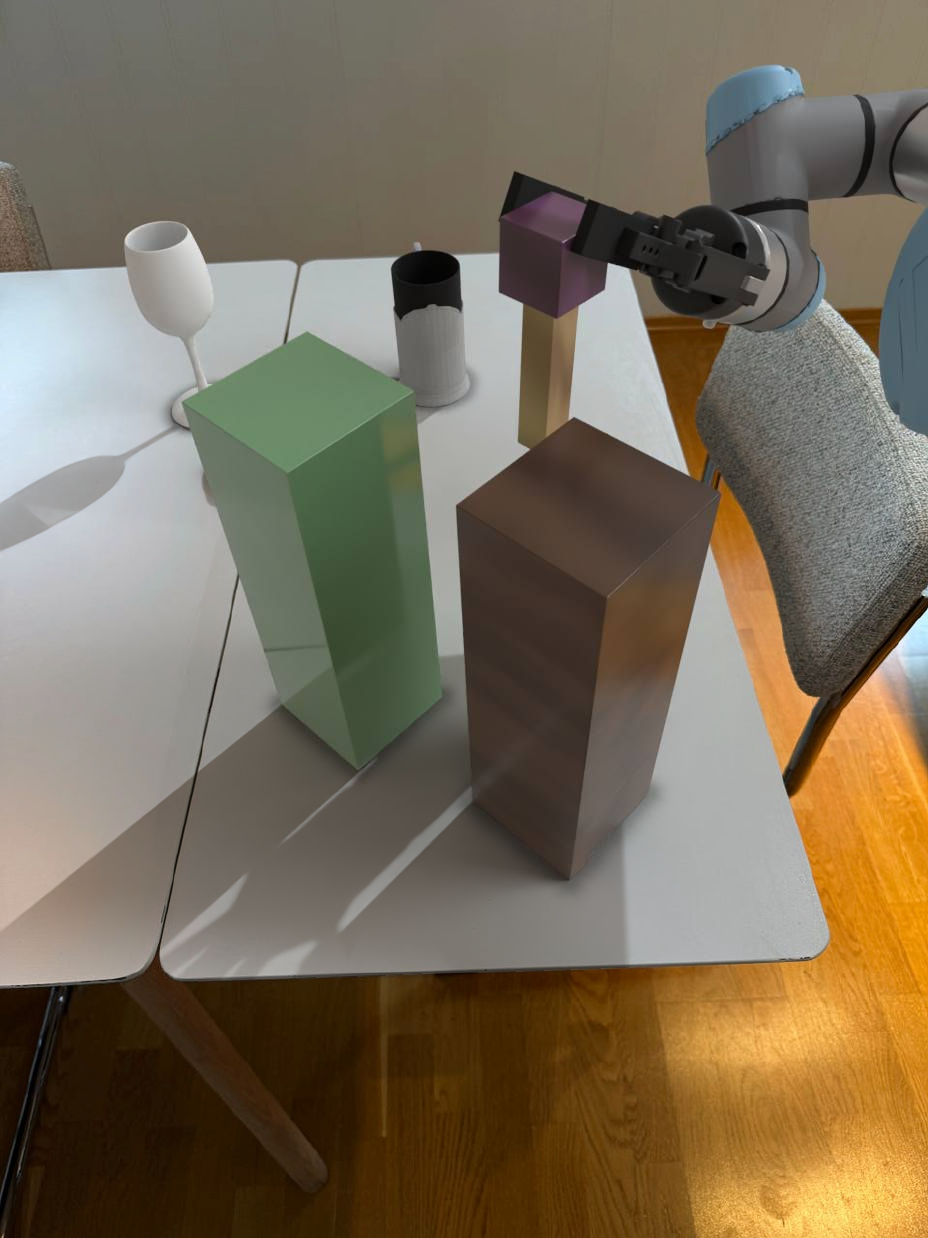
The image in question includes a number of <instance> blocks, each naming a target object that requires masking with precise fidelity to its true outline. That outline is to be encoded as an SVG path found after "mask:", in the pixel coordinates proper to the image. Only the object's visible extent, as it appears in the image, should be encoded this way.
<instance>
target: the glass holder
mask: <svg viewBox="0 0 928 1238" xmlns="http://www.w3.org/2000/svg"><path fill="white" fill-rule="evenodd" d="M390 274H391V275H390V276H391V284H392V285H391V286H392V293H393V295H392V296H393V304H394V306H392V310H393V319H394V320H393V321H394V328H395V329H394V330H395V338H396V348H397V349H396V350H397V358H398V367H399V378H398V382H399V383H401V384H403V385H405V386H407V387H408V388H410V389H412V390H414V396H415V406H418V407H419V406H420V407H424V408H425V407H427V408H435V407H445V406H448V405H450V404H453V403H455V402H459V400H461V399H463V398H464V397H465V396H466V395H467V394H468V392H469V390H470V387H471V380H470V378H469V375H468V373H467V370H466V369H467V367H466V341H465V340H466V339H465V319H464V316H465V315H464V301H463V299H462V280H461V264H460V261H459V259H458V258H456V257H455V256H454V255H453V254H450V253H449V252H445V251H443V250H442V251H441V250H436V249H424V250H423V249H422V245H421V243H420V242H419V241H415V242H413V243H412V252H408V253H405V254H403V255H401V256H399V257H398V258H396V260H394V261H393V263H392V264H391V266H390Z"/></svg>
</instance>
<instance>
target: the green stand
mask: <svg viewBox="0 0 928 1238" xmlns="http://www.w3.org/2000/svg"><path fill="white" fill-rule="evenodd" d="M398 381H399V380H398ZM398 381H397V380H396V379H394V378H392V377H391V376H389V375H387V374H385V373H383V372H381V371H380V370H378V369H376V368H374V367H373V366H370V365H369V364H367V363H365V362H364V361H362V360H360V359H358V358H356V357H354V356H353V355H351V354H349V353H347V352H345V351H343V350H341V349H340V348H338V347H336V346H334V345H333V344H331V343H329V342H328V341H326V340H324V339H322V338H320V337H318V336H317V335H314V334H313V333H311V332H310V331H305V332H303V333H302V334H299V335H298V336H296V337H294V338H292V339H291V340H289V341H287V342H285V343H283V344H282V345H280V346H278V347H276V348H274V349H273V350H271V351H269V352H267V353H265V354H263V355H262V356H260V357H258V358H257V359H254V360H253V361H251V362H249V363H248V364H246V365H244V366H242V367H241V368H238V369H237V370H236V371H233V372H232V373H230V374H228V375H226V376H224V377H223V378H221V379H219V380H218V381H215V382H214V383H211V384H212V385H210V386H209V387H207V388H205V389H203V390H201V391H200V392H198V393H196V394H194V395H192V396H191V397H189V398H187V399H185V400H184V401H182V402H181V403H182V406H183V409H184V412H185V415H186V418H187V421H188V424H189V427H190V428H189V430H190V433H191V437H192V439H193V442H194V444H195V445H194V446H195V447H196V451H197V454H198V457H199V460H200V462H201V465H202V468H203V472H204V476H205V478H206V481H207V483H208V487H209V490H210V493H211V496H212V499H213V502H214V505H215V508H216V511H217V514H218V517H219V520H220V523H221V526H222V529H223V532H224V535H225V538H226V542H227V544H228V547H229V550H230V552H231V556H232V560H233V563H234V565H235V569H236V571H237V574H238V577H239V580H240V583H241V586H242V590H243V592H244V595H245V598H246V601H247V604H248V607H249V610H250V614H251V617H252V618H253V623H254V625H255V628H256V631H257V634H258V637H259V641H260V643H261V645H262V650H263V652H264V655H265V659H266V661H267V664H268V667H269V670H270V673H271V676H272V681H273V682H274V686H275V689H276V692H277V695H278V698H279V701H280V705H282V706H283V707H284V708H285V709H286V710H287V711H288V712H290V714H292V715H293V716H295V718H296V719H298V720H299V721H300V722H301V723H302V724H304V725H305V726H306V727H307V728H308V729H309V730H310V731H312V732H313V733H314V734H315V735H316V736H317V737H319V739H321V740H322V742H324V743H325V744H327V745H328V746H329V747H330V748H332V750H333V751H335V752H336V753H337V754H338V755H339V756H340V757H342V758H343V759H344V761H346V762H347V763H348V764H349V765H351V767H353V768H354V769H356V771H360V770H361V769H362V768H364V767H365V766H366V765H367V764H368V763H369V762H370V761H372V760H373V759H374V758H375V757H376V756H378V754H379V753H380V752H381V751H383V750H384V749H385V748H386V747H387V746H388V745H390V744H391V743H392V742H394V740H395V739H396V738H397V737H399V736H400V735H401V734H402V733H403V732H404V731H406V729H408V728H409V727H410V726H411V725H413V723H414V722H416V721H417V720H418V719H419V718H420V717H421V716H422V715H423V714H425V713H426V712H427V711H428V710H429V709H431V708H432V707H433V706H434V705H435V704H436V703H438V702H439V700H441V699H442V698H443V690H442V689H443V688H442V678H441V668H440V659H439V649H438V648H439V646H438V636H437V625H436V614H435V602H434V593H433V582H432V581H433V580H432V572H431V571H432V570H431V560H430V559H431V558H430V548H429V538H428V527H427V517H426V516H427V515H426V505H425V495H424V484H423V473H422V464H421V463H422V461H421V452H420V441H419V440H420V439H419V430H418V419H417V409H416V405H415V396H414V390H412V389H410V388H408V387H407V386H405V385H403V384H401V383H399V382H398Z"/></svg>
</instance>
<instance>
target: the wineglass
mask: <svg viewBox="0 0 928 1238" xmlns="http://www.w3.org/2000/svg"><path fill="white" fill-rule="evenodd" d="M123 249H124V260H125V266H126V267H125V268H126V274H127V277H128V281H129V286H130V289H131V293H132V295H133V297H134V300H135V303H136V305H137V309H139V312H140V313H141V315H142V317H143V318H144V320H146V321H147V323H148V324H149V325H150V326H151V327H153V328H154V329H155V330H156V331H159V332H160V333H163V334H164V335H167V336H170V337H174V338H175V337H176V338H179V339H180V340H181V341H182V343H183V345H184V347H185V350H186V352H187V356H188V357H189V361H190V364H191V366H192V370H193V375H194V379H195V382H196V386H195V387H193V388H190V389H189V390H186V391H185V392H183V393H182V394H181V395H180V396H178V398H177V399H175V401H174V403H173V405H172V408H171V416H172V418H173V419H174V421H175V422H176V423H178V424H179V425H180V426H182V427H185V428H188V429H190V427H189V424H188V421H187V418H186V415H185V412H184V409H183V406H182V403H181V402H182V401H184V400H185V399H187V398H189V397H191V396H192V395H194V394H196V393H198V392H200V391H201V390H203V389H205V388H207V387H209V386H210V385H212V384H213V383H208V382H207V379H206V376H205V374H204V370H203V367H202V365H201V362H200V358H199V355H198V350H197V347H196V342H195V335H196V334H197V333H198V332H200V331H201V330H202V329H203V328H204V327H205V326H206V325H207V323H208V322H209V320H210V318H211V316H212V312H213V310H214V306H215V295H214V288H213V284H212V280H211V275H210V272H209V269H208V266H207V264H206V261H205V259H204V256H203V254H202V252H201V250H200V247H199V245H198V244H197V242H196V239H195V238H194V235H193V234H192V232H191V231H190V229H189V228H188V227H187V226H186V225H185V224H183V223H181V222H177V221H170V220H159V221H152V222H148V223H144V224H142V225H140V226H137V227H135V228H133V229H132V230H131V231H129V232H128V233H127V235H126V236H125V237H124V241H123Z"/></svg>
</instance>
